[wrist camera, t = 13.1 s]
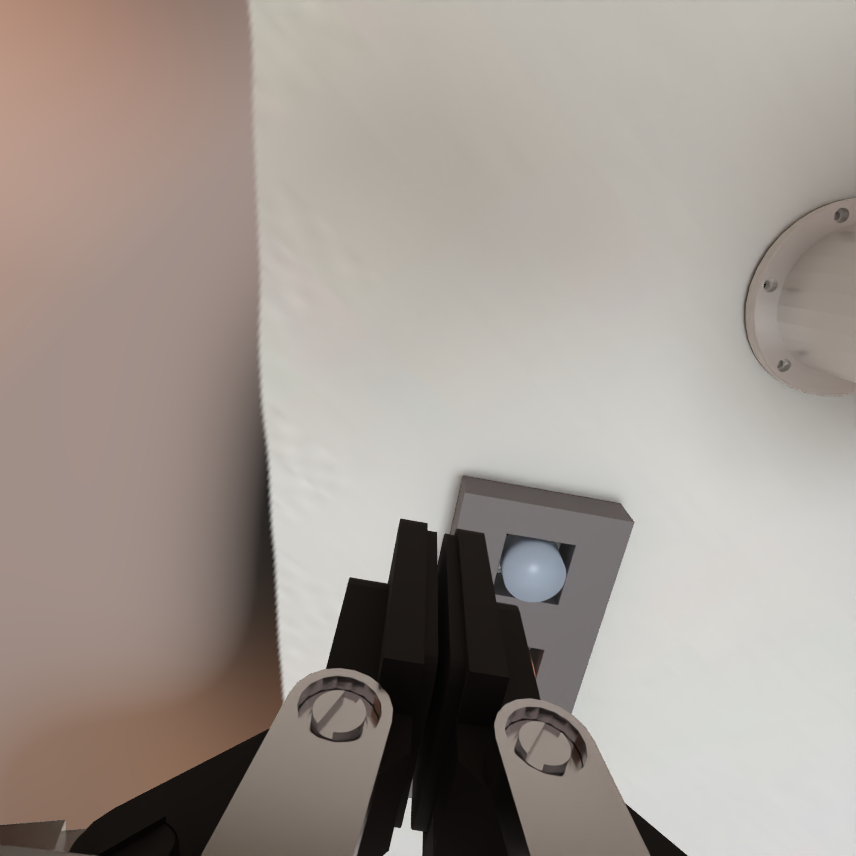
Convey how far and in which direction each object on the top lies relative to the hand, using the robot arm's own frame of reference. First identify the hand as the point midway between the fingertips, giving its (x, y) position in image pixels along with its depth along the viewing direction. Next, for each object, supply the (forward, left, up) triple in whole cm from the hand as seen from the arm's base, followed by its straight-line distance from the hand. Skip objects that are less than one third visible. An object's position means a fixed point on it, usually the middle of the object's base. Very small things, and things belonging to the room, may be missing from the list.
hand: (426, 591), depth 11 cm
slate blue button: (-10, +14, -28) cm, 33 cm away
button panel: (-10, +23, -29) cm, 38 cm away
